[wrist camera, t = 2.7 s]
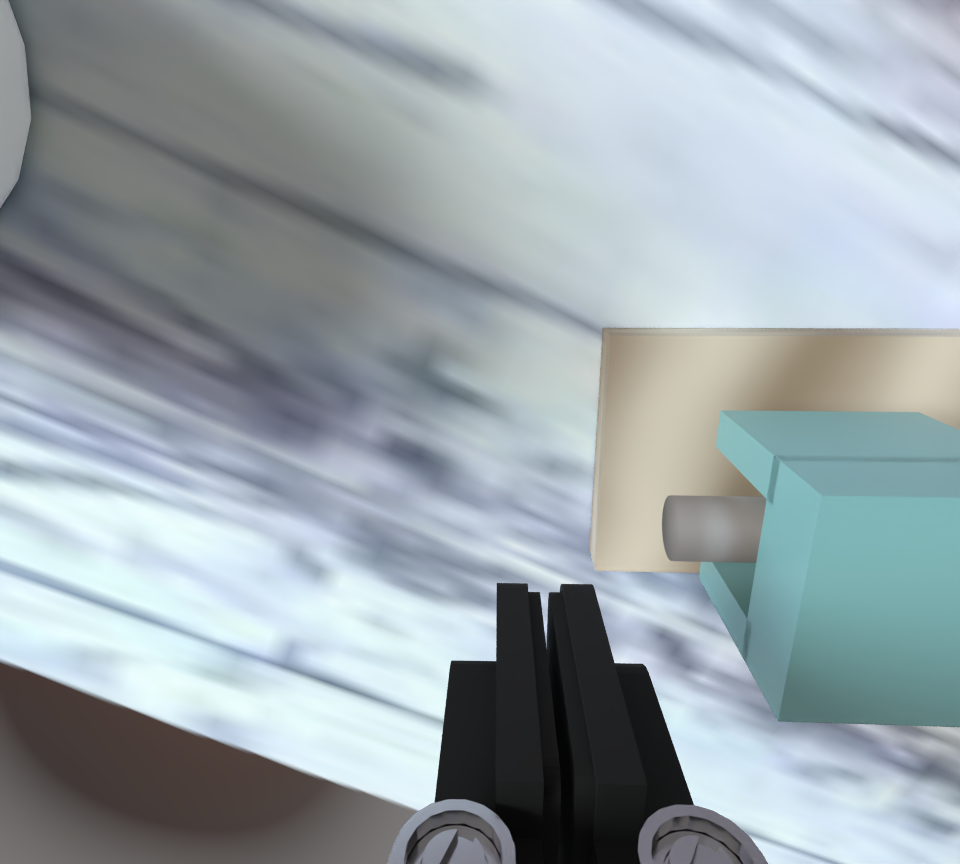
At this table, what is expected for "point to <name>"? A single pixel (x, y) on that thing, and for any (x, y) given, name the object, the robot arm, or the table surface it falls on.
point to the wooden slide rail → (695, 418)
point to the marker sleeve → (848, 565)
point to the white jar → (12, 101)
